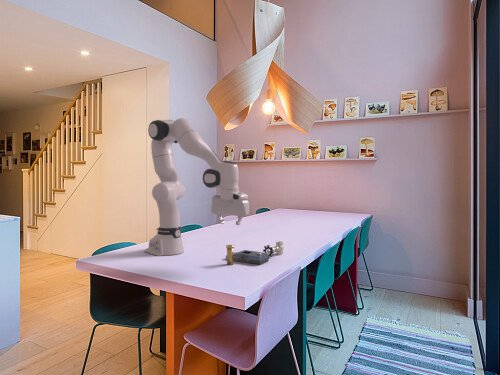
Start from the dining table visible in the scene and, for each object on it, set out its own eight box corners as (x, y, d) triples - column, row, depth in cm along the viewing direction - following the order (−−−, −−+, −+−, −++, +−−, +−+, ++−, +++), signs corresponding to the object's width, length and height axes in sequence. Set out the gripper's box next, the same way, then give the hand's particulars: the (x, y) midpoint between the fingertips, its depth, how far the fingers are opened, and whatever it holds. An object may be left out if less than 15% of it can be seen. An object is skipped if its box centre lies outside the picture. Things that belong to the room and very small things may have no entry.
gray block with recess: (226, 259, 170) (225, 250, 170) (235, 256, 177) (235, 247, 177) (260, 265, 159) (260, 255, 159) (268, 261, 166) (268, 252, 166)
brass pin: (224, 264, 161) (224, 245, 160) (229, 262, 164) (229, 244, 163) (231, 265, 159) (231, 246, 158) (235, 263, 162) (235, 245, 161)
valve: (276, 252, 184) (262, 256, 176) (276, 240, 184) (262, 244, 175) (286, 254, 180) (272, 258, 171) (286, 242, 180) (272, 246, 171)
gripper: (208, 195, 163) (208, 223, 163) (243, 196, 152) (243, 226, 152) (216, 194, 168) (216, 221, 169) (251, 195, 157) (251, 225, 157)
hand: (229, 224), depth 160 cm, fingers open, 8 cm apart
